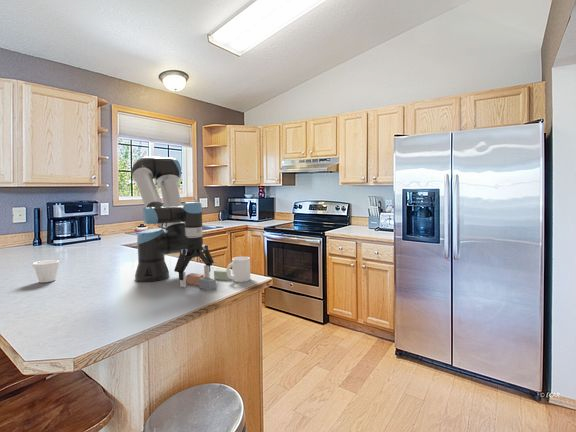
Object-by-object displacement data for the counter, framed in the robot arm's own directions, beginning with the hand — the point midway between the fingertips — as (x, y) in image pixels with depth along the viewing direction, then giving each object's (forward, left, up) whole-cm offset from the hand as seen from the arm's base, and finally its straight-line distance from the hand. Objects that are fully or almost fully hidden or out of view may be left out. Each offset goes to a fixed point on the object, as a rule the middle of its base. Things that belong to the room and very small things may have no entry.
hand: (195, 283), depth 144 cm
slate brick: (+10, -2, 0) cm, 10 cm away
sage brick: (+5, +12, 0) cm, 13 cm away
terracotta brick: (0, 0, 0) cm, 0 cm away
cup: (-62, -35, 0) cm, 71 cm away
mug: (+14, +13, 0) cm, 19 cm away
